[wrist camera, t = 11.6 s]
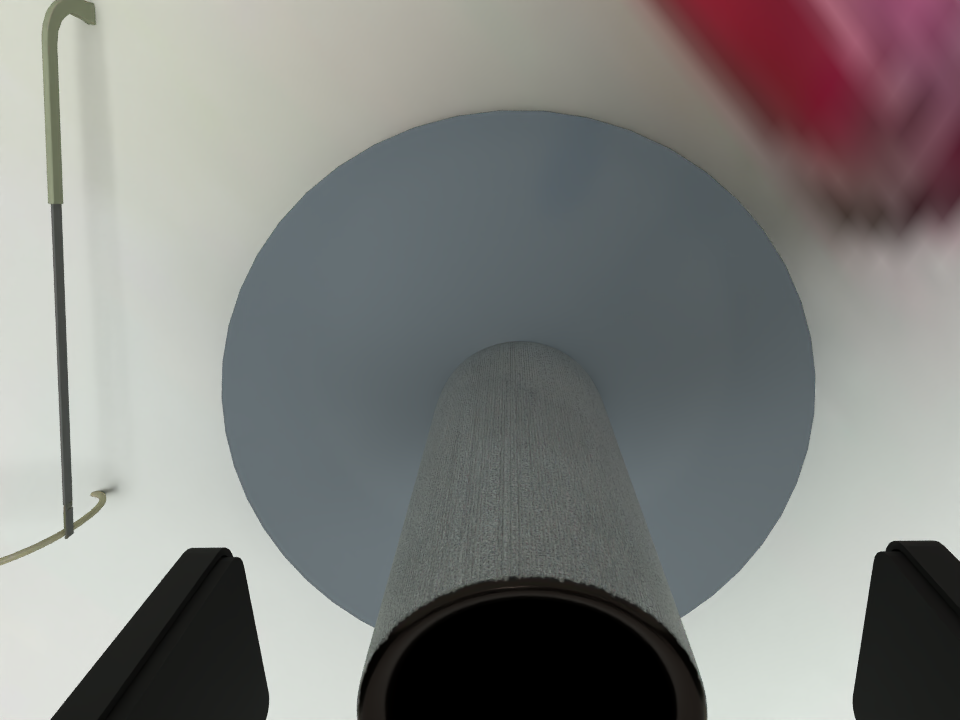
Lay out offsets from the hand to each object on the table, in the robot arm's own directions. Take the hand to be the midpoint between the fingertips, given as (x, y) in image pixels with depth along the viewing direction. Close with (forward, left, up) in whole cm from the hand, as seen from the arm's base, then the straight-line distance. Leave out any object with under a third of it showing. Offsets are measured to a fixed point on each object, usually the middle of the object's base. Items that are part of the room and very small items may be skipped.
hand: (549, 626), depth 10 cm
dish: (+1, 0, -10) cm, 10 cm away
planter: (0, 0, -9) cm, 9 cm away
